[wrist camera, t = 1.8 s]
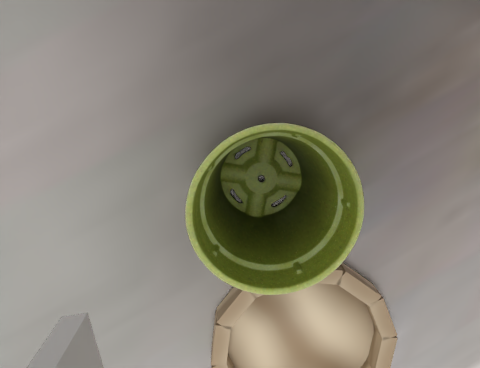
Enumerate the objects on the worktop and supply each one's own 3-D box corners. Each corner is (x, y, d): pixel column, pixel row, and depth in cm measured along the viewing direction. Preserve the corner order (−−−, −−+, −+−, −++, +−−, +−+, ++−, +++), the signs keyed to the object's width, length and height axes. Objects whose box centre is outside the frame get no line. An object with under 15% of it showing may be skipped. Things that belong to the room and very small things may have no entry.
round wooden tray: (285, 222, 29) (289, 232, 27) (419, 316, 32) (431, 331, 30) (179, 354, 32) (176, 372, 30) (311, 430, 34) (316, 451, 32)
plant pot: (169, 167, 28) (146, 203, 19) (271, 83, 26) (294, 83, 18) (249, 257, 30) (260, 325, 21) (347, 183, 29) (398, 225, 20)
